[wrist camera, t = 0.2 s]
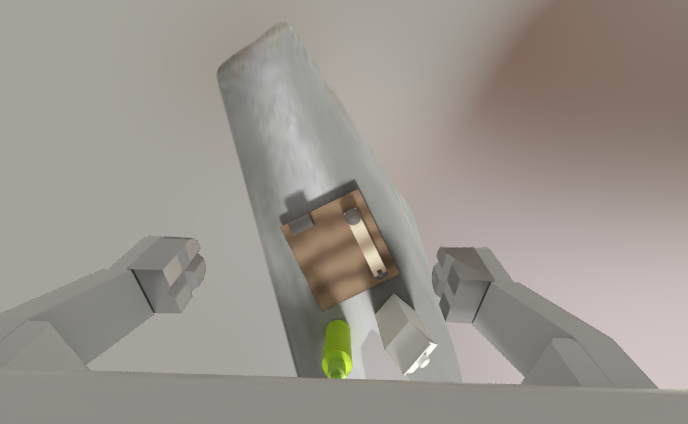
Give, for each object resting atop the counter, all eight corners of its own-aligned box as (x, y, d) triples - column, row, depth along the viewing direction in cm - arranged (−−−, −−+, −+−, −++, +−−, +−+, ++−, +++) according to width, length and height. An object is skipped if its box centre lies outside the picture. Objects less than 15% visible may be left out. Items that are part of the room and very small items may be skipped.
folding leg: (341, 212, 60) (341, 213, 57) (355, 205, 60) (356, 205, 57) (373, 277, 61) (375, 282, 58) (387, 270, 61) (390, 274, 58)
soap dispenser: (317, 328, 64) (306, 387, 44) (342, 315, 64) (342, 367, 44) (329, 349, 64) (324, 416, 44) (354, 335, 64) (359, 397, 44)
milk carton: (374, 314, 64) (388, 362, 45) (393, 292, 64) (415, 331, 45) (396, 332, 64) (419, 388, 45) (415, 310, 64) (446, 357, 45)
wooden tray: (397, 271, 64) (402, 277, 58) (323, 307, 64) (321, 317, 58) (357, 189, 63) (359, 188, 57) (282, 226, 63) (276, 228, 57)
